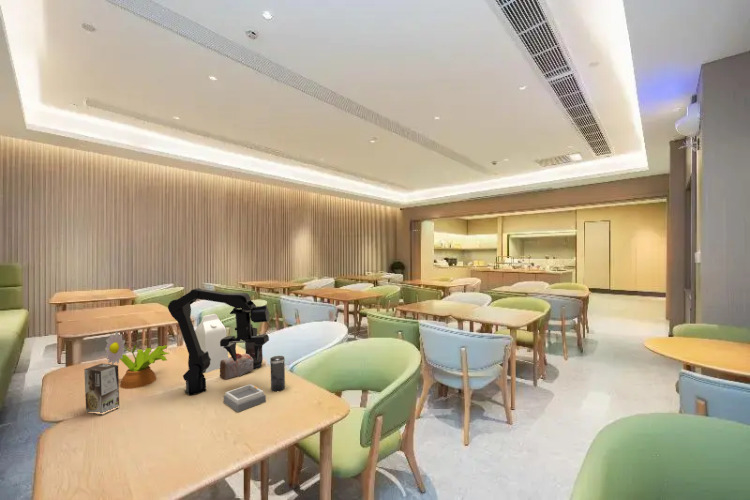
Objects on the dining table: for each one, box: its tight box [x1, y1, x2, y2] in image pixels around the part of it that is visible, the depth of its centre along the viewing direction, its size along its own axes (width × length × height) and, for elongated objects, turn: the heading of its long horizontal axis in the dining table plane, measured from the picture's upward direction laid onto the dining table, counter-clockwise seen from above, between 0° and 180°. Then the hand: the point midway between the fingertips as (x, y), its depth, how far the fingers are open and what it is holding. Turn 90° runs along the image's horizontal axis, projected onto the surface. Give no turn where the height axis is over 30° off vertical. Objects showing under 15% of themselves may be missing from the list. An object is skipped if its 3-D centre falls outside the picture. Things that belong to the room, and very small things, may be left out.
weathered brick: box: [219, 352, 254, 380], centre depth 159 cm, size 14×8×10 cm, turn 138°
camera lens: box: [244, 334, 264, 370], centre depth 169 cm, size 8×8×15 cm
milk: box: [194, 313, 229, 374], centre depth 170 cm, size 12×12×26 cm
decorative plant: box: [104, 330, 170, 390], centre depth 152 cm, size 27×24×25 cm
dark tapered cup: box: [269, 355, 286, 393], centre depth 142 cm, size 6×6×13 cm
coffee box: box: [84, 362, 120, 413], centre depth 126 cm, size 9×6×16 cm
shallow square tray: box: [223, 383, 267, 413], centre depth 131 cm, size 11×12×4 cm
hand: (246, 360), depth 142 cm, fingers open, 9 cm apart
